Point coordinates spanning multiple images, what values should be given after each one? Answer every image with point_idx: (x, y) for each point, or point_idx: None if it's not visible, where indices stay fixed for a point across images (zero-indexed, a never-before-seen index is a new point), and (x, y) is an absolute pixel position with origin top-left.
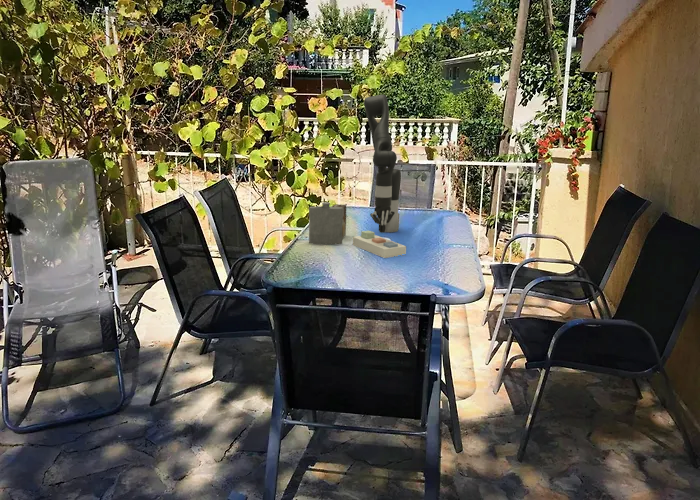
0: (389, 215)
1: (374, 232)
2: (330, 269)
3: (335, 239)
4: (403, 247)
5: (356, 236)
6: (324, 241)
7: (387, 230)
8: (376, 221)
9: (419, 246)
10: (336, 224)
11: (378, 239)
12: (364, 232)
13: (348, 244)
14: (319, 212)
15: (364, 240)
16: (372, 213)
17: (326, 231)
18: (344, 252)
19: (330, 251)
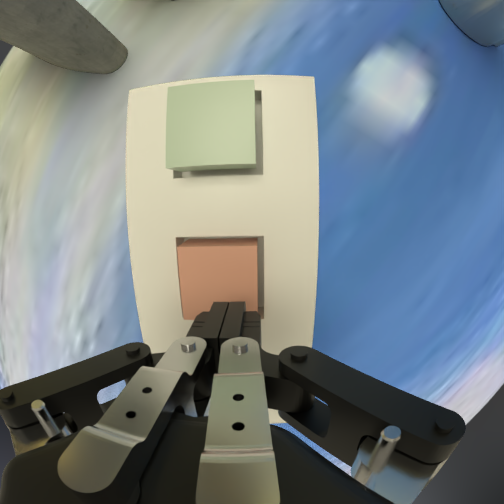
0: (351, 446)
1: (253, 163)
2: (4, 364)
3: (76, 64)
4: (283, 420)
5: (156, 85)
6: (51, 62)
7: (461, 22)
8: (106, 403)
9: (453, 298)
10: (26, 34)
11: (209, 291)
12: (170, 126)
13: (138, 87)
14: None
15: (140, 209)
16: (9, 429)
17: (25, 48)
18: (53, 228)
19: (22, 188)
